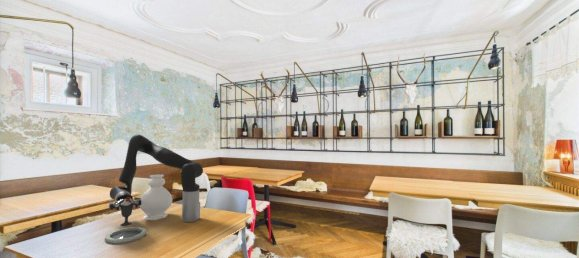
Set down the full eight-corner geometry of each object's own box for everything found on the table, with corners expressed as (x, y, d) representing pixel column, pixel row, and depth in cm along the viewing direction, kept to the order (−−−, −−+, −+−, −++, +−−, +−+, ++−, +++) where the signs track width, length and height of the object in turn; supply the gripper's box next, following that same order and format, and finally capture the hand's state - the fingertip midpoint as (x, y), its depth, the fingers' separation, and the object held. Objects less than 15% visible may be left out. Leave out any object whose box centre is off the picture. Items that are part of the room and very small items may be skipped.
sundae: (126, 227, 117) (127, 195, 117) (114, 226, 118) (115, 194, 118) (137, 222, 123) (138, 192, 124) (126, 221, 125) (127, 191, 125)
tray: (130, 227, 131) (130, 224, 131) (154, 232, 125) (154, 229, 125) (95, 240, 115) (96, 236, 116) (121, 246, 109) (121, 242, 109)
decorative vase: (152, 211, 160) (153, 172, 161) (177, 212, 157) (178, 173, 158) (131, 220, 142) (132, 177, 143) (159, 222, 140) (160, 178, 140)
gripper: (107, 194, 128) (109, 201, 115) (139, 190, 137) (144, 197, 124) (106, 208, 127) (108, 217, 114) (139, 204, 136) (144, 212, 124)
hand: (127, 207), depth 119 cm, fingers closed on sundae, 6 cm apart
